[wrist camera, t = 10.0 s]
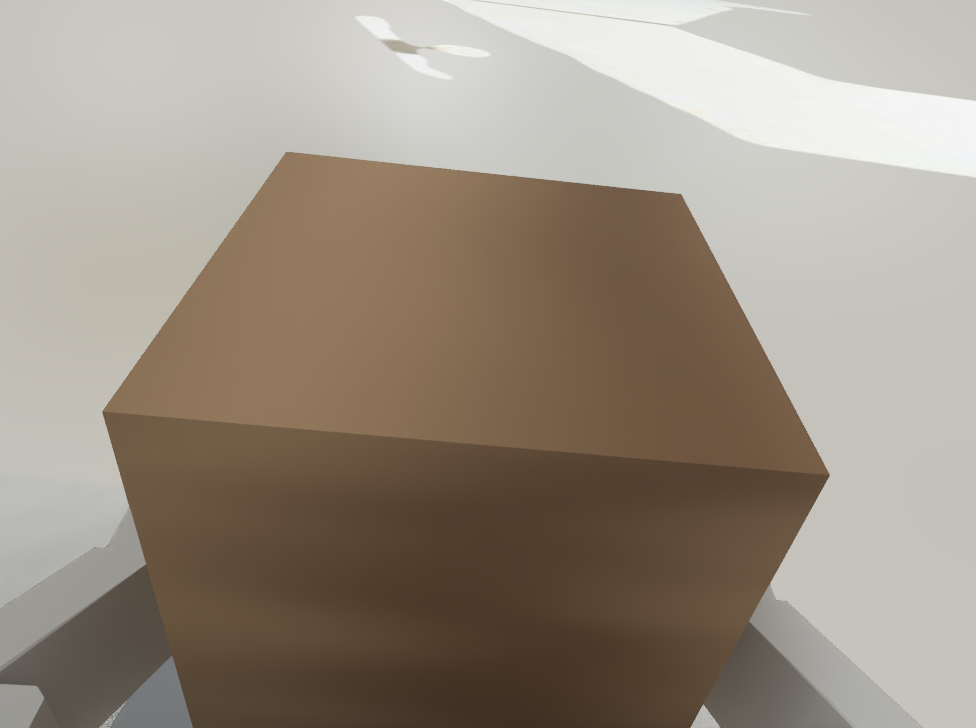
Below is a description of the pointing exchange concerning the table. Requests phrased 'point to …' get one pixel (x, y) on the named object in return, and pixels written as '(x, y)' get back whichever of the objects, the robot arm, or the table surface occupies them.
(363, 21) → the table surface
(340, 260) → the walnut block
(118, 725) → the slate base block
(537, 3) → the table surface
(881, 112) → the table surface
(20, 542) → the table surface
